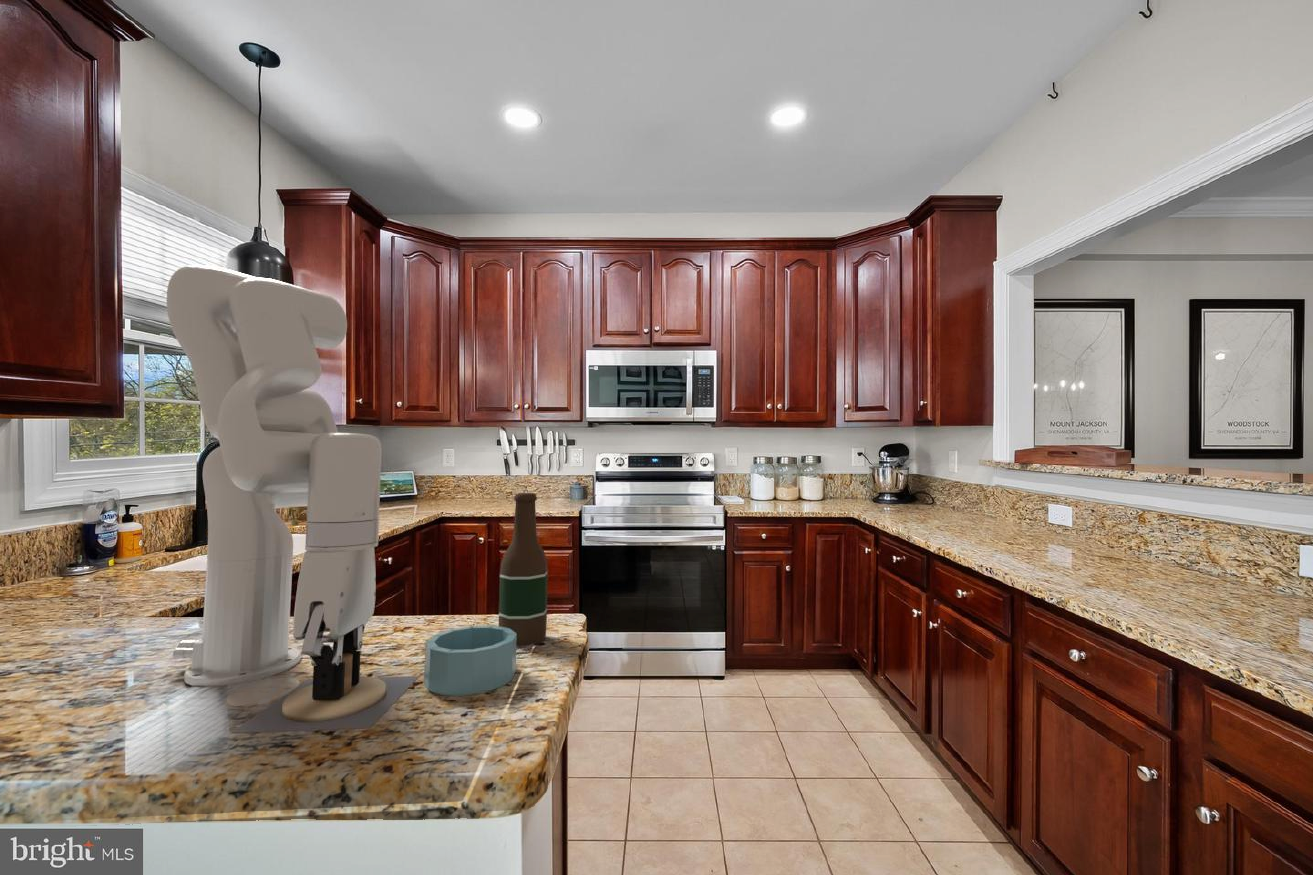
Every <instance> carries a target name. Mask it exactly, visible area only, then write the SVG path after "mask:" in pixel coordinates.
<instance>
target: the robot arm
mask: <svg viewBox="0 0 1313 875" xmlns="http://www.w3.org/2000/svg"><path fill="white" fill-rule="evenodd" d="M166 289H167V290H166V310H167V317H168V321H169V325H170V327H171V330H172V332H173V335H174V337H175V338H176V340H177V342H178V344H179V345H180V347H181V349H182V350H183V352H184V354H185V355H186V358H187V360H188V362H189V364H190V366H191V370H192V373H193V378H194V382H195V387H196V391H197V392H196V393H197V396H198V400H199V401H198V402H199V404H200V408H201V409H200V410H201V413H202V417H203V422H204V424H205V426H206V428H207V430H208V432H209V433H210V435H211V436H212V437H214V438H215V439H217V440H218V443H219V446H218V447H216V448H215V449H213V450H212V451H210V452H209V454H208V455H207V456H206V458H205V460H204V462H203V467H202V481H203V482H202V483H203V490H204V496H205V501H206V502H205V503H206V504H205V505H206V510H207V511H206V512H207V550H206V551H207V552H206V553H207V554H206V571H205V584H204V585H205V587H204V588H205V589H204V603H203V622H202V638H201V639H183V640H181V641H180V642H179V643H178V645H177V647H176V648H175V649H174V651H173V652H172V657H173V658H174V659H188V658H189V659H191V666H189V667H188V668H187V669H186V670H185V672H184V675H183V676H184V677H183V681H184V683H186V684H187V685H189V686H191V687H192V686H197V687H220V686H229V685H231V686H232V685H238V684H243V683H248V682H252V681H257V680H261V679H265V678H268V677H272V676H275V675H277V674H280V673H282V672H286V671H287V670H290V669H291V668H293V667H295V666H297V665H298V664H299V663H300V661H301V660H302V659H301V657H302V654H303V655H306V656H309V657H310V659H311V661H310V664H311V666H312V668H313V669H312V670H313V671H312V679H313V689H312V698H313V700H338V699H340V698H342V697H343V695H344V676H345V662H341V660H342V653H350V654H352V655H353V659H352V682H351V686H356V685H357V684H358V683H359V678H360V674H361V653H362V652H361V650H362V647H363V642H364V640H363V637H364V636H363V633H364V632H365V626H366V625H367V624H368V622H369V620H370V619H371V618H372V617H373V615H374V612H375V604H376V590H377V588H376V585H377V584H376V582H377V581H376V580H377V579H376V577H377V576H376V575H377V574H376V556H375V548H376V547H378V546H379V530H380V519H379V517H380V503H381V501H380V499H381V498H380V497H381V475H382V452H383V451H382V443H381V441H380V439H379V438H378V437H377V436H374V435H371V434H366V433H357V432H355V433H353V432H339V431H338V427H337V424H336V421H335V417H334V415H333V411H332V409H331V407H330V404H329V402H327V400H326V399H325V398H324V396H322V395H321V394H320V393H318V392H316V391H315V390H312V389H309V388H310V387H312V386H314V385H315V384H316V383H317V382H318V381H319V379H320V378H321V375H322V372H323V368H322V363H321V360H320V358H319V355H318V351H317V349H320V350H321V349H322V350H333V349H335V348H337V347H338V346H340V345H341V344H342V343H343V341H344V339H345V337H346V335H347V332H348V330H347V329H348V320H347V315H346V312H345V310H344V308H343V307H342V305H341V304H340V302H339V301H337V300H336V299H335V298H334V297H332V296H330V295H328V294H325V293H321V292H319V291H314V290H311V289H309V288H304V287H301V286H298V285H294V284H291V283H288V282H283V281H280V280H277V279H272V278H265V277H256V276H253V275H249V274H246V273H242V272H240V271H235V270H232V269H227V268H225V267H218V266H213V265H212V266H211V265H202V264H201V265H200V264H192V265H186V266H183V267H181V268H179V269H177V270H176V271H175V272H173V273H172V275H171V277H170V279H169V282H168V284H167V288H166ZM233 328H235V330H234V329H233ZM297 507H298V508H299V507H300V508H301V507H306V508H307V509H306V524H305V525H306V527H305V528H306V529H305V545H304V546H305V547H304V549H305V552H304V554H303V557H302V561H301V566H300V569H299V575H298V580H297V586H296V587H297V589H296V593H295V594H296V595H295V603H294V611H293V614H294V615H293V624H292V636H293V638H294V640H296V641H302V640H303V643H302V647H301V650H299V649H298V648H296V647H293V646H289V642H290V641H289V638H290V619H291V600H292V596H291V595H292V580H293V578H292V577H293V562H294V561H293V560H294V559H293V558H294V555H293V554H294V538H293V535H292V534H293V533H292V532H291V530H290V528H289V526H288V525H287V524H286V523H285V521H284V520H283V519H282V518H281V517H280V515H279V514H278V513H277V510H276V509H283V508H297ZM325 632H329V633H328V635H326V634H325V635H324V633H325ZM325 643H332V647H331V645H329V644H325ZM173 658H172V659H173Z"/></svg>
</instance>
